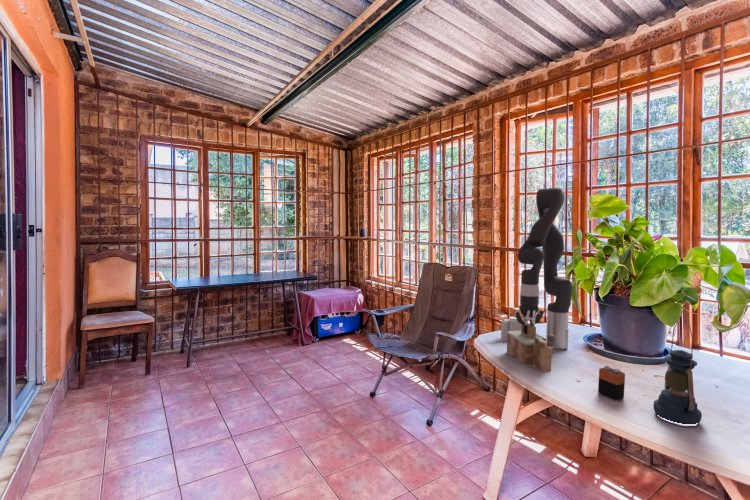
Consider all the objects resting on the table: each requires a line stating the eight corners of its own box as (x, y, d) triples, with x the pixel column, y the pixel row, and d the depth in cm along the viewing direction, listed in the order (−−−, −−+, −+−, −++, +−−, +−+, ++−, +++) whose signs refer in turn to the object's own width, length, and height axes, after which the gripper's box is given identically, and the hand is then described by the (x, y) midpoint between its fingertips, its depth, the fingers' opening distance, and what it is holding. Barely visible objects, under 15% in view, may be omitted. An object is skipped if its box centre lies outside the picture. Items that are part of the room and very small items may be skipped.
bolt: (537, 342, 162) (537, 330, 162) (543, 342, 162) (544, 330, 162) (549, 349, 154) (549, 336, 153) (556, 349, 154) (556, 336, 154)
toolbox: (506, 352, 179) (507, 327, 178) (529, 351, 181) (530, 326, 180) (533, 371, 158) (534, 343, 157) (558, 370, 160) (559, 341, 158)
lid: (507, 335, 179) (507, 320, 178) (529, 334, 180) (530, 319, 180) (526, 347, 163) (526, 330, 162) (550, 345, 165) (551, 329, 164)
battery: (616, 401, 133) (618, 372, 132) (597, 393, 139) (598, 365, 138) (624, 398, 135) (626, 370, 134) (605, 390, 141) (606, 363, 140)
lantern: (644, 405, 130) (650, 301, 127) (685, 409, 127) (692, 302, 124) (666, 428, 116) (674, 311, 113) (712, 432, 114) (722, 314, 110)
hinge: (501, 341, 195) (502, 322, 194) (496, 338, 200) (497, 319, 199) (527, 340, 197) (528, 320, 196) (522, 337, 202) (522, 318, 201)
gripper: (539, 291, 175) (538, 329, 176) (510, 292, 172) (509, 331, 174) (549, 295, 167) (547, 335, 169) (519, 296, 165) (517, 336, 167)
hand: (528, 333), depth 171 cm, fingers closed on lid
